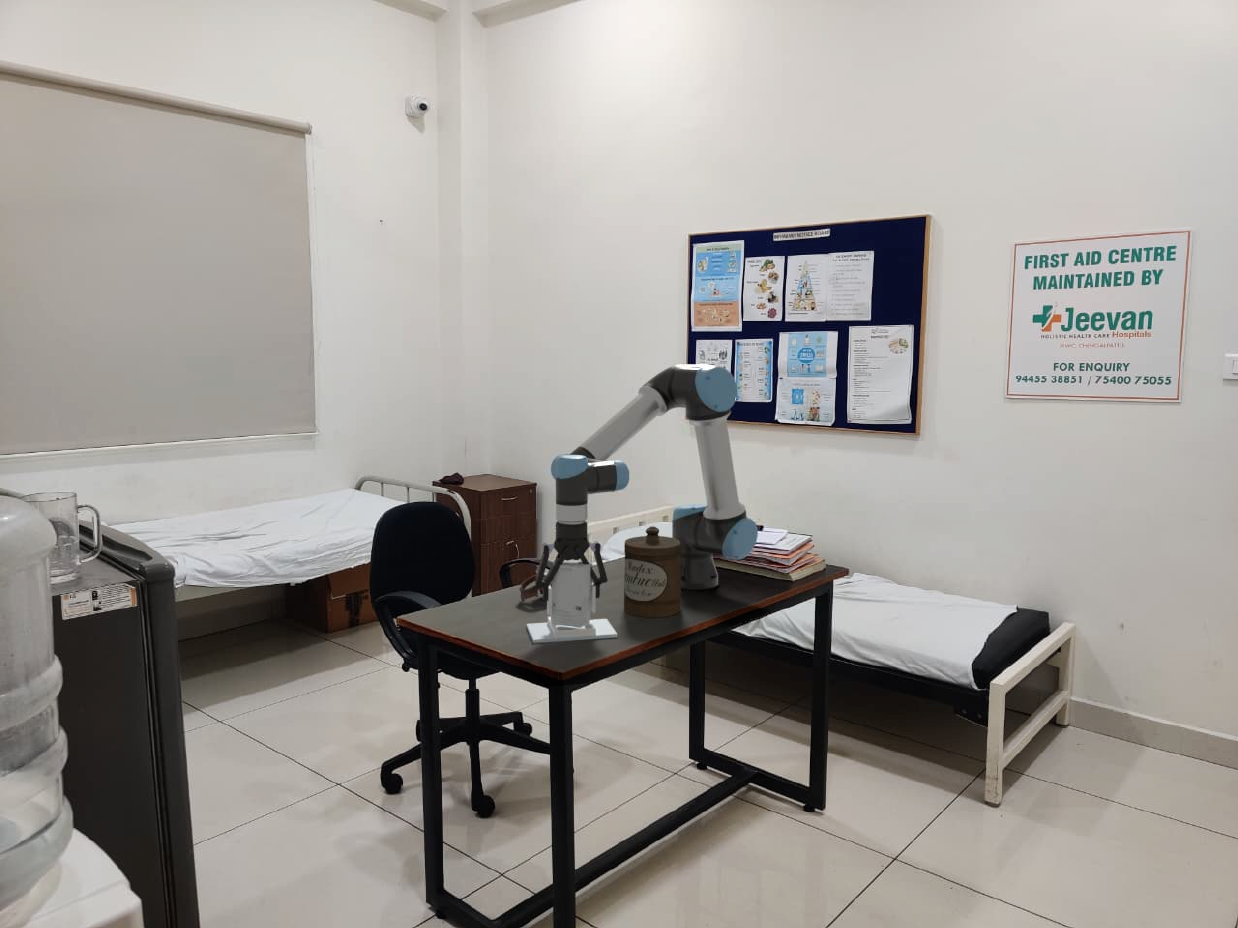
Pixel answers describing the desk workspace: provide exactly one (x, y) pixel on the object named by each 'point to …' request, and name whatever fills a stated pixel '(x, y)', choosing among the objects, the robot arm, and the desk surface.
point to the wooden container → (652, 575)
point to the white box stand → (570, 631)
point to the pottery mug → (533, 590)
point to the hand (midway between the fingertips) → (571, 612)
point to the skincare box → (571, 594)
